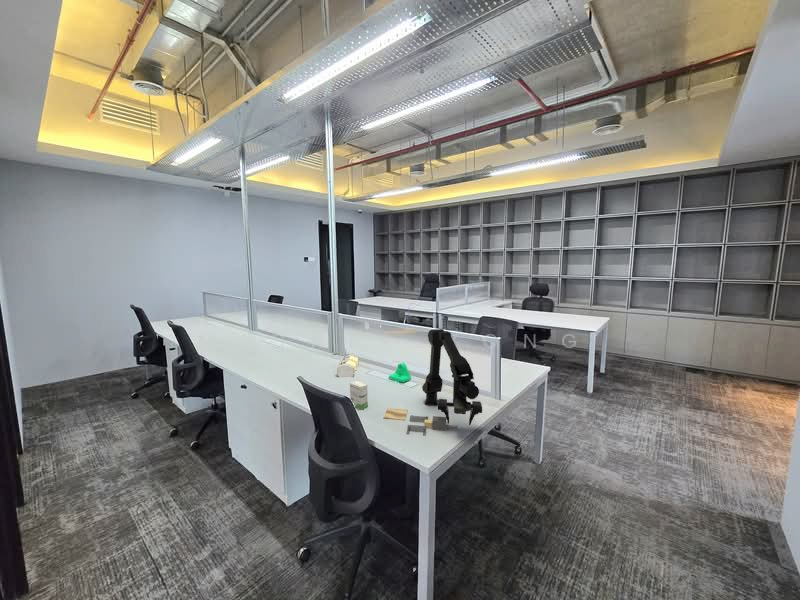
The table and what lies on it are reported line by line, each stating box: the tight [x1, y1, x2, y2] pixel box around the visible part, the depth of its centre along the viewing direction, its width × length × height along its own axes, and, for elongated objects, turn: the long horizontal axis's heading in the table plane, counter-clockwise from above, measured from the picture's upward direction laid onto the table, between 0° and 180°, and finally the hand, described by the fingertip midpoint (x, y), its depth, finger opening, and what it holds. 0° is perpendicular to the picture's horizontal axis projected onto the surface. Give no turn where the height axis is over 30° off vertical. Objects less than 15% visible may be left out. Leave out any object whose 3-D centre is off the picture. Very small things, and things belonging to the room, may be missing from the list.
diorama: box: [336, 348, 360, 378], centre depth 217 cm, size 25×10×13 cm, turn 0°
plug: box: [423, 415, 459, 432], centre depth 143 cm, size 4×14×4 cm, turn 81°
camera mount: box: [388, 362, 412, 383], centre depth 201 cm, size 12×8×10 cm, turn 50°
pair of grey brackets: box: [406, 414, 429, 436], centre depth 145 cm, size 16×8×2 cm, turn 171°
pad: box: [383, 408, 408, 421], centre depth 156 cm, size 10×10×1 cm
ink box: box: [349, 380, 369, 411], centre depth 164 cm, size 9×5×12 cm, turn 47°
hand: (459, 424), depth 142 cm, fingers open, 9 cm apart
